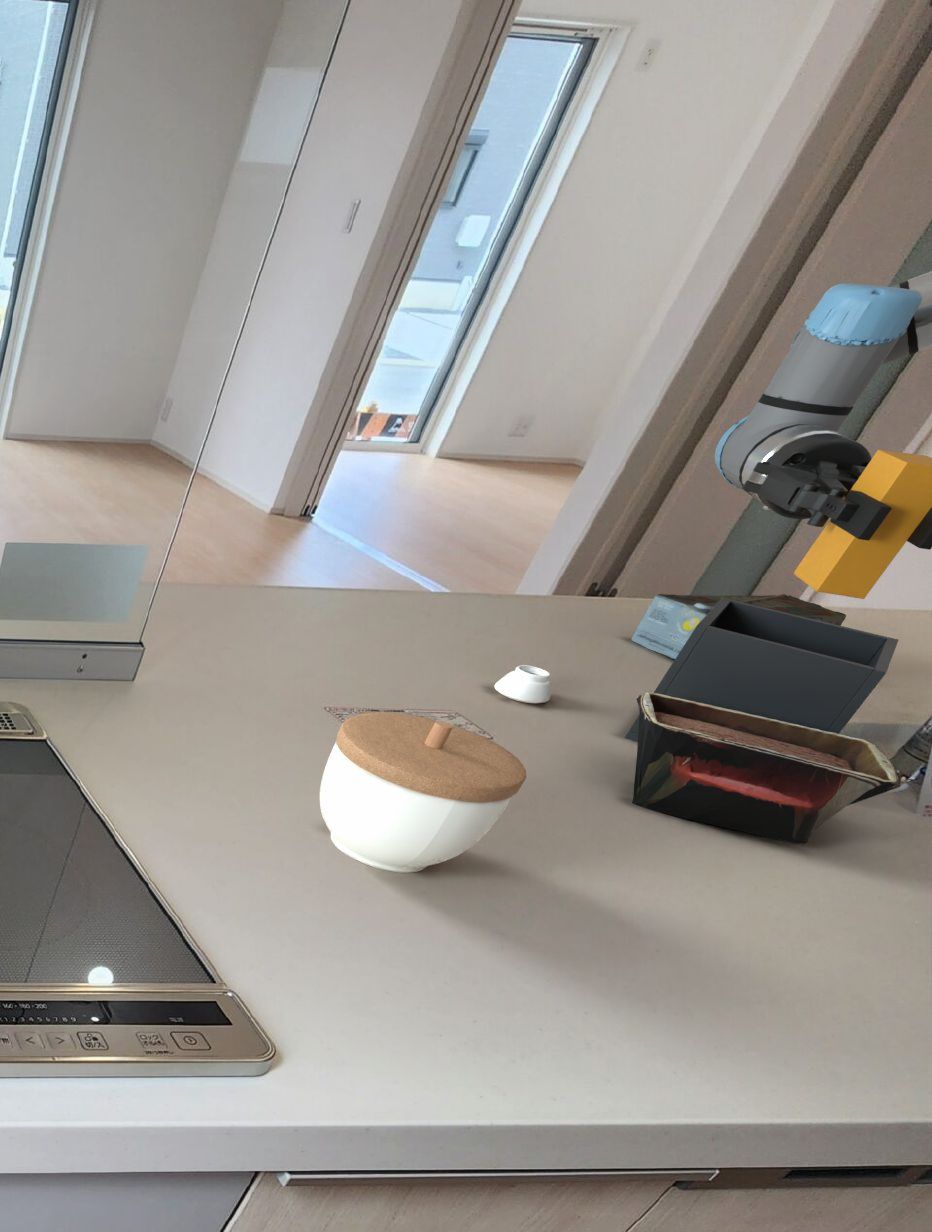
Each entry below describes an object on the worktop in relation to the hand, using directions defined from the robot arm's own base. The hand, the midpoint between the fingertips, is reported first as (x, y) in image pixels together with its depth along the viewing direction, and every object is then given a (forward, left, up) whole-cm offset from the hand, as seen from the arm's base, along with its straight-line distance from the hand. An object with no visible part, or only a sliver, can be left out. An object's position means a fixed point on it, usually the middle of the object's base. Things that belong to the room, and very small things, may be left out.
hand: (905, 528), depth 90 cm
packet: (+2, -5, -6) cm, 8 cm away
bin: (+2, -5, -23) cm, 23 cm away
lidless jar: (+19, -1, -23) cm, 30 cm away
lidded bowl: (+17, +47, -23) cm, 55 cm away
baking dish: (0, +12, -23) cm, 26 cm away
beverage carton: (+7, -40, -23) cm, 46 cm away
